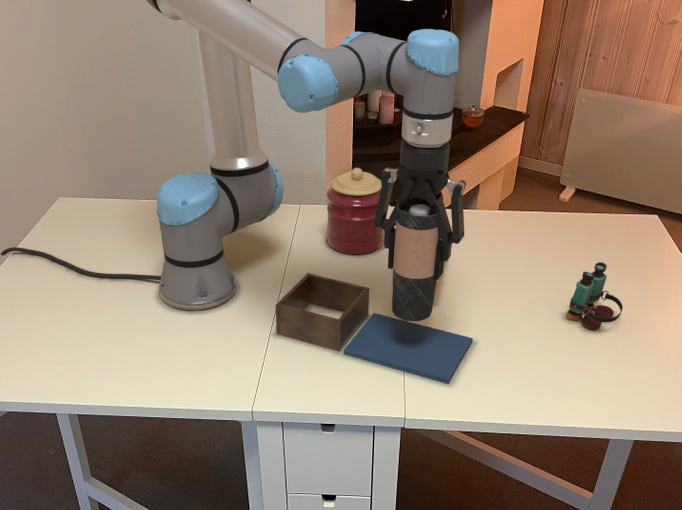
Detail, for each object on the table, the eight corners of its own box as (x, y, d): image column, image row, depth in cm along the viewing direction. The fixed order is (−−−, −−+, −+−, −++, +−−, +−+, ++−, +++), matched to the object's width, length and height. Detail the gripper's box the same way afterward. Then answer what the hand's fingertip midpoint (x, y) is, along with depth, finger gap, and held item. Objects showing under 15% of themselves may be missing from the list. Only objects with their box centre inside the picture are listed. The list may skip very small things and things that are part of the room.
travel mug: (435, 322, 131) (446, 217, 119) (391, 322, 131) (398, 216, 119) (431, 299, 137) (441, 196, 125) (389, 299, 137) (395, 196, 125)
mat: (343, 354, 137) (343, 349, 137) (373, 316, 148) (373, 312, 147) (448, 384, 130) (449, 379, 130) (472, 342, 141) (472, 338, 140)
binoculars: (619, 295, 136) (571, 271, 141) (601, 341, 143) (556, 315, 148) (643, 278, 141) (596, 255, 146) (624, 323, 148) (580, 299, 153)
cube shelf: (276, 334, 142) (275, 304, 138) (308, 300, 152) (307, 272, 148) (339, 351, 138) (340, 322, 134) (368, 316, 148) (369, 287, 144)
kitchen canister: (390, 252, 169) (394, 177, 158) (334, 258, 166) (334, 182, 156) (374, 227, 179) (377, 155, 169) (321, 232, 177) (321, 159, 166)
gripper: (354, 137, 117) (351, 267, 130) (483, 159, 110) (466, 294, 123) (373, 122, 122) (368, 248, 136) (497, 143, 115) (479, 273, 129)
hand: (415, 270), depth 129 cm, fingers closed on travel mug, 8 cm apart
